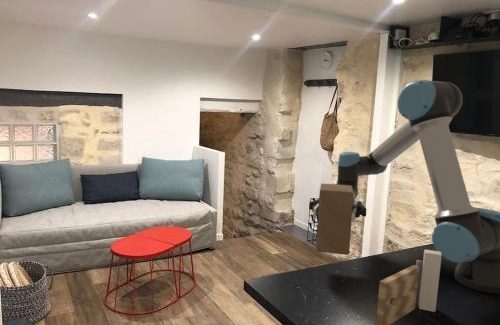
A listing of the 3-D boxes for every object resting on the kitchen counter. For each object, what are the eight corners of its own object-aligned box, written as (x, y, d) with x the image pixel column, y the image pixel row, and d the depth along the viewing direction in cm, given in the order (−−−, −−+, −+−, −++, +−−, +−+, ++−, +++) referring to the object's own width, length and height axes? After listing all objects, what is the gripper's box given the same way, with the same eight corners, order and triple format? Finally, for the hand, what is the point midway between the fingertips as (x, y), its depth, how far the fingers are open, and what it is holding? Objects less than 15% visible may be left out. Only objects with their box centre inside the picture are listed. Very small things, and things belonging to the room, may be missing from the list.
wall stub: (434, 307, 108) (440, 251, 106) (435, 311, 106) (441, 255, 104) (411, 303, 110) (417, 248, 108) (411, 307, 108) (417, 251, 106)
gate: (409, 306, 109) (413, 264, 107) (419, 310, 107) (423, 268, 105) (375, 326, 99) (379, 281, 97) (385, 332, 96) (390, 285, 95)
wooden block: (349, 255, 123) (353, 192, 119) (316, 252, 125) (319, 189, 121) (348, 244, 132) (352, 185, 129) (317, 241, 134) (321, 183, 131)
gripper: (376, 213, 140) (371, 232, 119) (310, 205, 148) (295, 222, 127) (378, 192, 138) (373, 208, 118) (311, 185, 146) (296, 199, 126)
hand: (333, 215), depth 123 cm, fingers closed on wooden block, 11 cm apart
